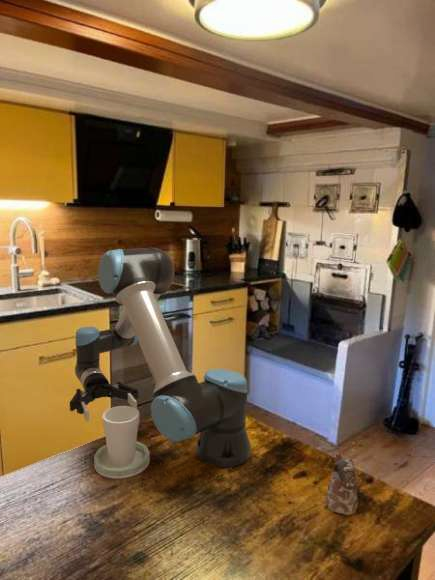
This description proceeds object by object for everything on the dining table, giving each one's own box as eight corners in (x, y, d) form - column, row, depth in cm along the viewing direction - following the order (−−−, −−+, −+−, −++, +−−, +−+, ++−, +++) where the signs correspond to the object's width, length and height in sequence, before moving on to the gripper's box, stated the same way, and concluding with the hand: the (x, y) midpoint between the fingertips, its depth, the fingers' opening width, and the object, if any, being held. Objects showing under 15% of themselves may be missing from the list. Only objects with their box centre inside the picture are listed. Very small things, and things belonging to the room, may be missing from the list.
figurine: (339, 518, 96) (344, 470, 94) (319, 498, 102) (323, 453, 100) (363, 509, 99) (368, 462, 97) (342, 491, 105) (347, 446, 103)
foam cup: (131, 472, 109) (130, 425, 106) (97, 467, 111) (95, 420, 108) (144, 452, 118) (144, 408, 116) (113, 447, 120) (112, 403, 117)
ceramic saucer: (160, 459, 116) (160, 452, 116) (119, 486, 105) (119, 478, 104) (124, 440, 124) (124, 434, 124) (82, 463, 113) (82, 456, 113)
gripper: (132, 387, 146) (154, 414, 128) (54, 401, 134) (66, 433, 116) (132, 366, 145) (154, 390, 126) (53, 378, 133) (65, 407, 115)
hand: (112, 411), depth 121 cm, fingers open, 13 cm apart
